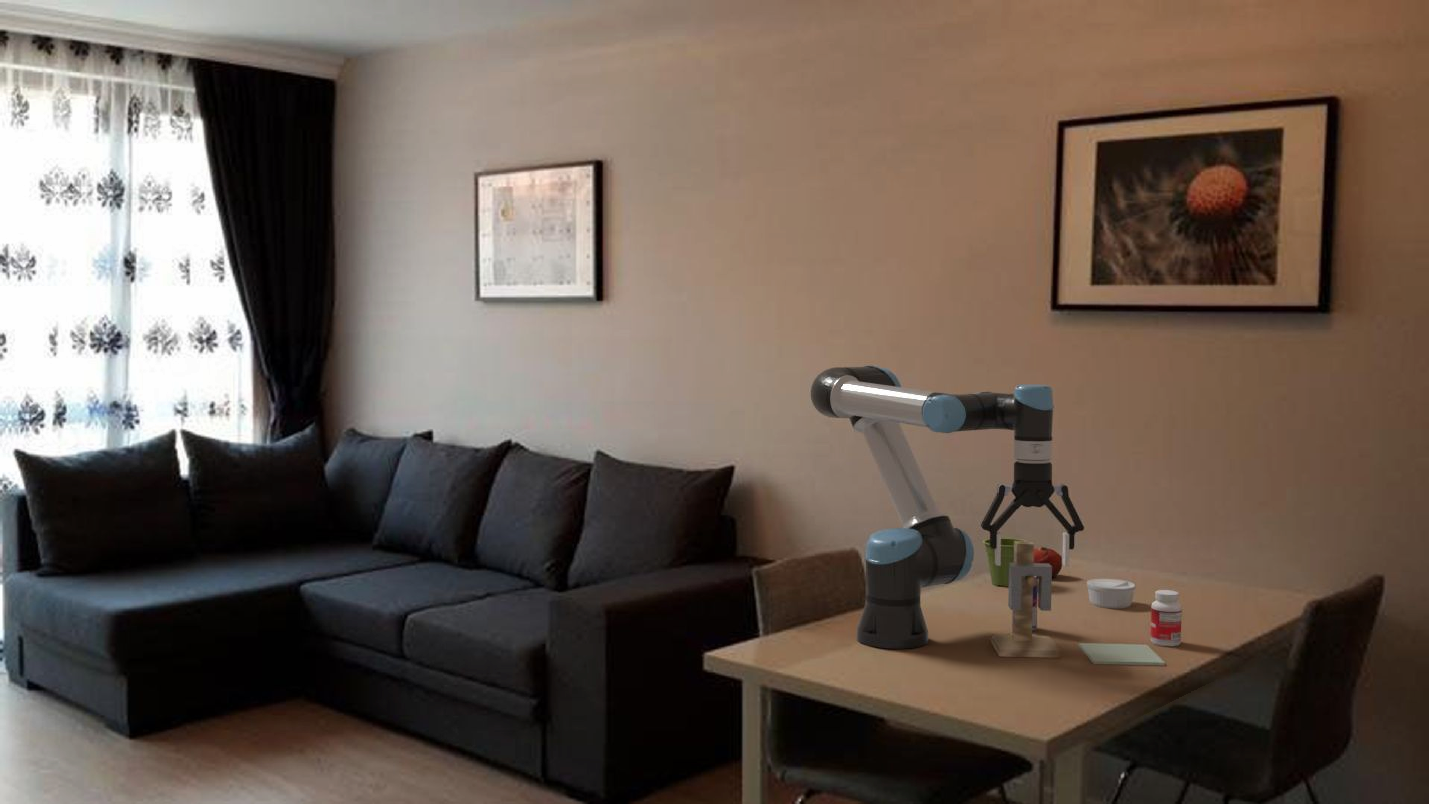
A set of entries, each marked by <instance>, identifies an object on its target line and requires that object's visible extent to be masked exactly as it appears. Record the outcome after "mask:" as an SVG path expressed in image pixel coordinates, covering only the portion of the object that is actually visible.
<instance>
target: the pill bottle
mask: <svg viewBox="0 0 1429 804" xmlns="http://www.w3.org/2000/svg"><path fill="white" fill-rule="evenodd" d="M1154 597H1155V600H1154V601H1153V602H1152V604H1151V607H1150V609H1151V610H1150V612H1151V613H1150V618H1151V619H1150V642H1151V643H1152V644H1154V645H1157V646H1161V647H1170V648H1171V647H1177V646H1180V644H1181V643H1182V614H1183V609H1182V608H1183V607H1182V605H1181V604H1180V603H1179V602H1178V601H1179V597H1180V595H1179V592H1178V591H1175V590H1171V589H1159V590H1156V591H1155V596H1154Z"/></svg>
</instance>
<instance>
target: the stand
mask: <svg viewBox="0 0 1429 804" xmlns="http://www.w3.org/2000/svg"><path fill="white" fill-rule="evenodd" d="M1034 549H1035V544H1034V543H1033V541H1031V540H1029V541H1028V540H1026V541H1014V563H1034ZM1037 579H1038V578H1037ZM1037 579H1036V578H1035V577H1034V576H1022V586H1021V610H1013V626H1012V625H1011V628H1012V632H1011V634H991V635H990V642H991V644H992V646H993V648H994V649H995V651H996V653H997V655H998V656H999V657H1003V658H1004V657H1008V658H1012V657H1013V658H1015V657H1016V658H1050V659H1055V658H1056V659H1058V658H1060V650H1059V648H1058V647H1057V646H1056V645H1055V643H1054V642H1053V640H1052V639H1051V638H1050V636H1049V635H1033V631H1032V611H1033V587H1035V586H1036V585H1037V584H1038V582H1039V580H1038V581H1037Z"/></svg>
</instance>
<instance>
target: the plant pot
mask: <svg viewBox="0 0 1429 804" xmlns="http://www.w3.org/2000/svg"><path fill="white" fill-rule="evenodd" d="M1014 541H1027V540H1026V539H1020V538H1012V537H1011V538H1010V537H1001V566H997V565H996V564H995V549H992V548H991V547H990V538H988V539H983V541H982V543H983V544H984V546H985V547H984V548H985V552H986V555H987V561H988V568H989V574H990V575H989V576H990V580H991V584H992V585H993V584H994V586H996V585H1000V586H1004V587H1006V586H1009V563H1014Z"/></svg>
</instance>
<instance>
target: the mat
mask: <svg viewBox="0 0 1429 804" xmlns="http://www.w3.org/2000/svg"><path fill="white" fill-rule="evenodd" d="M1078 647H1079V648H1080V649H1081V651H1082V652H1083V653H1084V655H1086V657H1087V658H1088V659H1089V660H1090V662H1091V663H1092V664H1093V665H1129V666H1131V665H1132V666H1133V665H1134V666H1166V662H1165V661H1164V660H1163V659H1162V658H1161V657H1160V656H1159V655H1158V654H1157V653H1156V652H1155V651H1154V650H1152V649H1151V647H1149V646H1148V644H1131V643H1130V644H1128V643H1120V644H1119V643H1090V642H1089V643H1086V642H1085V643H1084V642H1081V643H1080V642H1079V643H1078Z"/></svg>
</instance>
